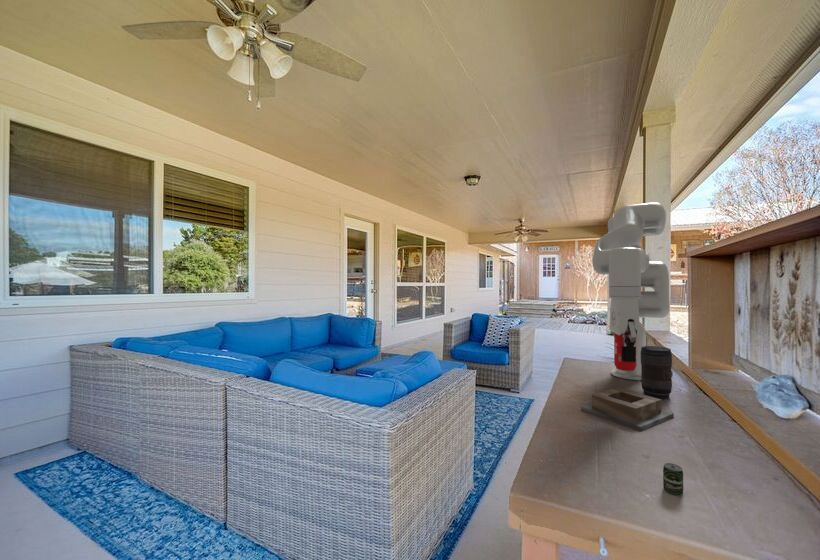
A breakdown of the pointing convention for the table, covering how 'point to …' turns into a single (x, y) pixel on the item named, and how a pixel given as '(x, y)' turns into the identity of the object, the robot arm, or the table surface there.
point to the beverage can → (618, 355)
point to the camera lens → (656, 371)
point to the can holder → (627, 408)
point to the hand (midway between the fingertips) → (625, 358)
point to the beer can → (673, 479)
